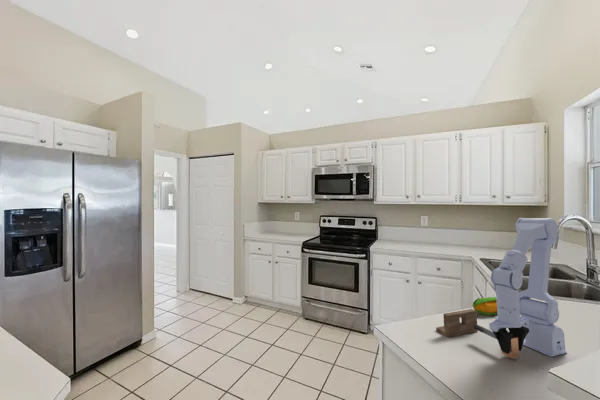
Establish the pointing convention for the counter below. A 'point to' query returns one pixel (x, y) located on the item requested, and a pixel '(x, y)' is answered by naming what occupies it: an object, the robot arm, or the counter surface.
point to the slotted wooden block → (458, 323)
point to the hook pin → (514, 340)
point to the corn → (486, 306)
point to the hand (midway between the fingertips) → (511, 350)
